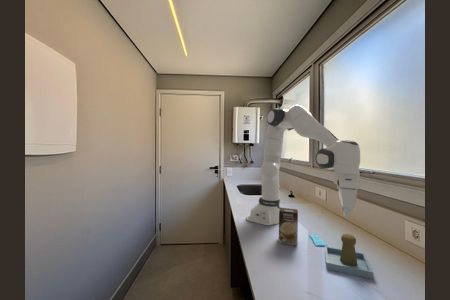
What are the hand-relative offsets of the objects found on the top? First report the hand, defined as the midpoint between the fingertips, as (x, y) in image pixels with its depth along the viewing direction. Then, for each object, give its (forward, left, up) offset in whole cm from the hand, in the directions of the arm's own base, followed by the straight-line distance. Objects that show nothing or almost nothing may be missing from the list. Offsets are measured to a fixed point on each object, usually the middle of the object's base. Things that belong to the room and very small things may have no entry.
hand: (345, 214), depth 80 cm
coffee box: (-23, +10, -21) cm, 33 cm away
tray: (+1, 0, -20) cm, 20 cm away
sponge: (-10, +17, -21) cm, 29 cm away
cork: (+1, +1, -20) cm, 20 cm away
